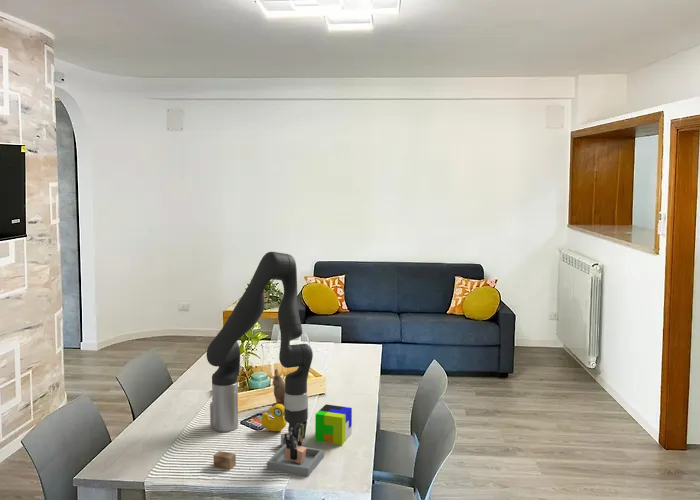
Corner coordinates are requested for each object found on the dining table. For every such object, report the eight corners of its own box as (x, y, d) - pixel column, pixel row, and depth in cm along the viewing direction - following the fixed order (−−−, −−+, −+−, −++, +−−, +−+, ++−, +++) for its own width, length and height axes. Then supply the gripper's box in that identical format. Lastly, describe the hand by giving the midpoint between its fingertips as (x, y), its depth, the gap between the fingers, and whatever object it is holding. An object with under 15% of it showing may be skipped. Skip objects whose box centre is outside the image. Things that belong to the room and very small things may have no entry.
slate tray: (267, 469, 200) (267, 461, 200) (284, 451, 213) (284, 444, 213) (308, 476, 196) (308, 468, 195) (323, 457, 209) (323, 449, 209)
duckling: (293, 428, 232) (293, 402, 231) (290, 434, 227) (290, 407, 226) (263, 426, 234) (263, 400, 233) (259, 432, 228) (259, 406, 227)
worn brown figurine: (271, 416, 250) (261, 373, 248) (274, 411, 256) (265, 368, 254) (299, 412, 248) (290, 368, 246) (302, 407, 254) (293, 364, 252)
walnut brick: (213, 467, 202) (213, 455, 201) (219, 462, 205) (219, 450, 204) (230, 470, 200) (229, 458, 199) (235, 465, 203) (235, 453, 202)
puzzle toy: (351, 434, 228) (351, 407, 227) (342, 445, 218) (342, 417, 217) (325, 430, 231) (325, 404, 230) (315, 441, 222) (315, 414, 220)
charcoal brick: (283, 449, 215) (283, 437, 215) (280, 444, 219) (280, 433, 218) (300, 446, 217) (300, 435, 217) (297, 442, 221) (297, 431, 220)
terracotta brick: (283, 458, 204) (285, 446, 203) (288, 453, 207) (289, 442, 206) (300, 463, 202) (302, 452, 201) (304, 459, 205) (306, 447, 205)
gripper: (293, 396, 210) (293, 446, 212) (276, 411, 197) (276, 464, 199) (314, 399, 208) (314, 449, 210) (298, 414, 194) (298, 467, 196)
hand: (296, 456), depth 204 cm, fingers closed on terracotta brick, 3 cm apart
